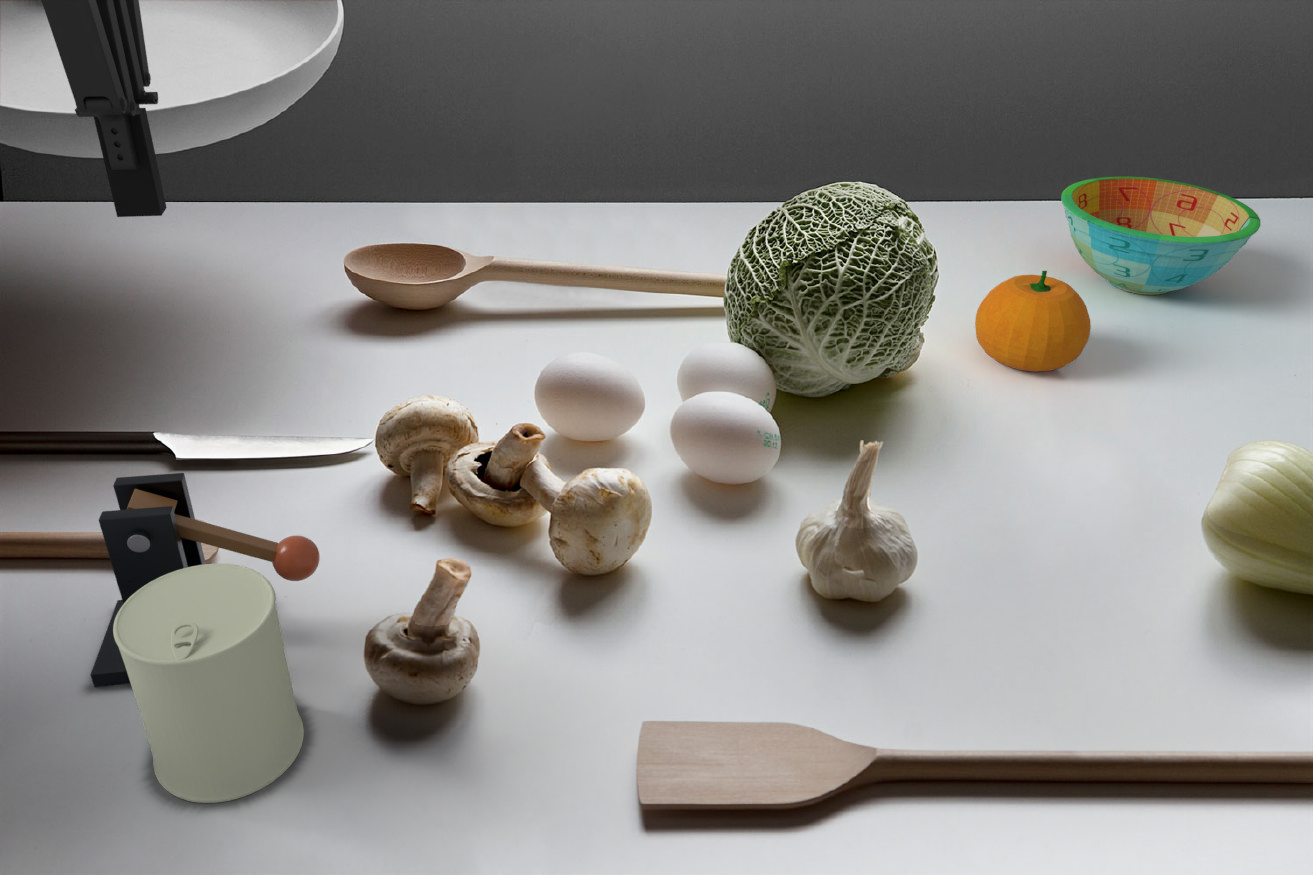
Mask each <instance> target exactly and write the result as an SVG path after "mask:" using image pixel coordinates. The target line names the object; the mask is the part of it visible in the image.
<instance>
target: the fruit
mask: <svg viewBox="0 0 1313 875" xmlns="http://www.w3.org/2000/svg"><path fill="white" fill-rule="evenodd" d="M1047 273H1048V270H1042V271H1041V275H1039V274H1021V275H1015V276H1012V277H1010V278H1008V279H1006V280H1004V281H1002V282H1000V283H999V284H997V285H996V286H994V287H993V288H992V289H991V290H990V291H989V292H988V293H987V294H986V295H985V297H984V298H983V299H982V301H981V302H980V304H979V306H978V308H977V310H976V314H975V321H974V325H975V336H976V339H977V342H978V344H979V346H980V347H981V348H982V349H983V351H984V353H986V355H988V356H989V357H990V358H992V359H993V360H995V361H996V362H998V363H999V364H1002V365H1004V366H1006V367H1009V368H1012V369H1016V370H1020V371H1026V372H1049V371H1054V370H1058V369H1062V368H1064V367H1066V366H1067V365H1069V364H1071V363H1073V362H1074V361H1076V360H1077V359H1078V358H1079V357H1080V355H1081V354H1082V353H1083V350H1084V349H1085V347H1086V345H1087V344H1088V341H1089V338H1090V336H1091V329H1092V326H1091V317H1090V314H1089V311H1088V307H1087V305H1086V303H1085V301H1084V300H1083V298H1082V297H1081V295H1080V294H1079V293H1078V292H1077V291H1076V290H1075V288H1073V287H1072V286H1071V285H1070V284H1068V282H1067V283H1066V282H1065V281H1063V280H1060V279H1057V278H1054V277H1050V276H1047Z"/></svg>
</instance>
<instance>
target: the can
mask: <svg viewBox="0 0 1313 875" xmlns="http://www.w3.org/2000/svg"><path fill="white" fill-rule="evenodd" d="M113 634H114V639H115V641H116V643H117V645H118V647H119V650H120V653H121V655H122V658H123V661H124V664H125V667H126V670H127V673H128V676H129V680H130V683H131V684H130V686H131V689H132V692H133V695H134V698H135V702H136V704H137V707H138V711H139V715H140V718H141V721H142V725H143V728H144V731H145V734H146V738H147V741H148V744H149V748H150V751H151V755H152V761H153V762H152V765H153V766H152V767H153V771H154V774H155V775H154V776H155V777H156V779H157V781H158V783H159V784H160V785H161V787H162V788H163V789H164V790H165V791H167V792H168V793H169V794H171V795H173V796H174V797H177V798H178V799H182V800H185V801H188V802H191V803H199V804H200V803H201V804H215V803H217V804H218V803H223V802H229V801H234V800H237V799H240V798H244V797H246V796H249V795H251V794H254V793H256V792H258V791H260V790H262V789H264V788H266V787H267V786H269V785H270V784H272V783H273V782H275V781H276V780H277V779H278V778H280V777H281V776H282V775H283V774H284V773H285V772H286V771H287V770H288V769H289V768H290V767H291V765H293V763H294V762H295V761H296V759H297V757H298V756H299V753H300V751H301V749H302V746H303V742H304V737H305V736H304V735H305V728H304V727H305V726H304V723H303V720H302V717H301V715H300V713H299V711H298V706H297V702H296V699H295V694H294V689H293V685H292V679H291V675H290V670H289V664H288V661H287V660H288V659H287V655H286V650H285V646H284V641H283V636H282V630H281V625H280V618H279V613H278V609H277V596H276V592H275V589H274V586H273V584H271V582H270V581H269V580H268V579H267V577H266V576H264V575H263V574H261V573H260V572H258V571H257V570H254V569H252V568H249V567H246V566H243V565H238V564H232V563H206V564H205V565H197V566H192V567H187V568H184V569H180V570H177V571H174V572H171V573H168V574H166V575H163V576H161V577H159V578H157V579H155V580H153V581H151V582H149V583H148V584H146V585H145V586H143V587H142V588H140V589H139V590H138V591H136V592H135V593H134V594H133V595H132V596H130V597H129V598H128V599H127V601H126V602H125V603H124V604H123V605H122V607H121V608H120V610H119V611H118V613H117V615H116V618H115V621H114V626H113Z"/></svg>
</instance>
